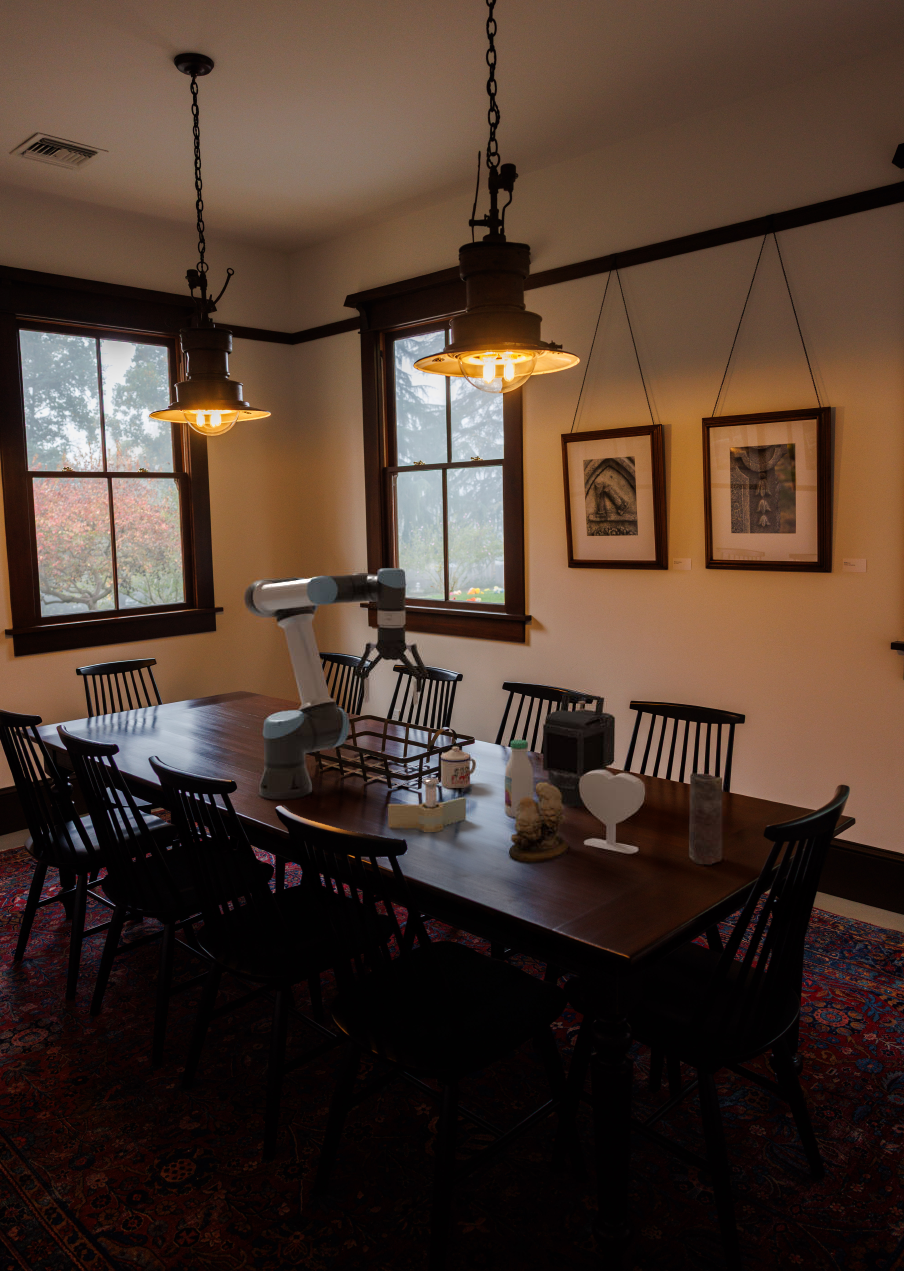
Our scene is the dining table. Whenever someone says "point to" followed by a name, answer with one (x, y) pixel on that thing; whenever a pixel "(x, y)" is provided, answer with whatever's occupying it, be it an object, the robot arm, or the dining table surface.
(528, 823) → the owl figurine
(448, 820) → the pale green hinge leaf
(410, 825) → the brass leaf
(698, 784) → the dark stone pillar
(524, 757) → the milk bottle
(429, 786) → the hinge pin
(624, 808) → the heart sculpture
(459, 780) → the teacup with lid
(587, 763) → the lantern
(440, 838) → the dining table surface
